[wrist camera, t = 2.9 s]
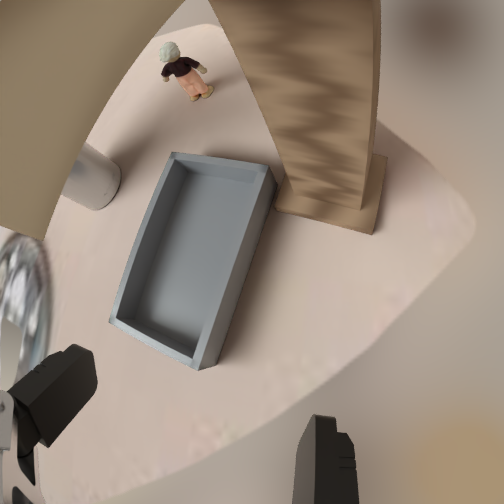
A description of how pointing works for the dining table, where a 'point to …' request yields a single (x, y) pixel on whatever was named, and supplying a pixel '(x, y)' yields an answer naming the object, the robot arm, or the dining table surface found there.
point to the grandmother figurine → (184, 71)
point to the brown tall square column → (316, 99)
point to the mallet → (59, 91)
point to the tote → (193, 256)
